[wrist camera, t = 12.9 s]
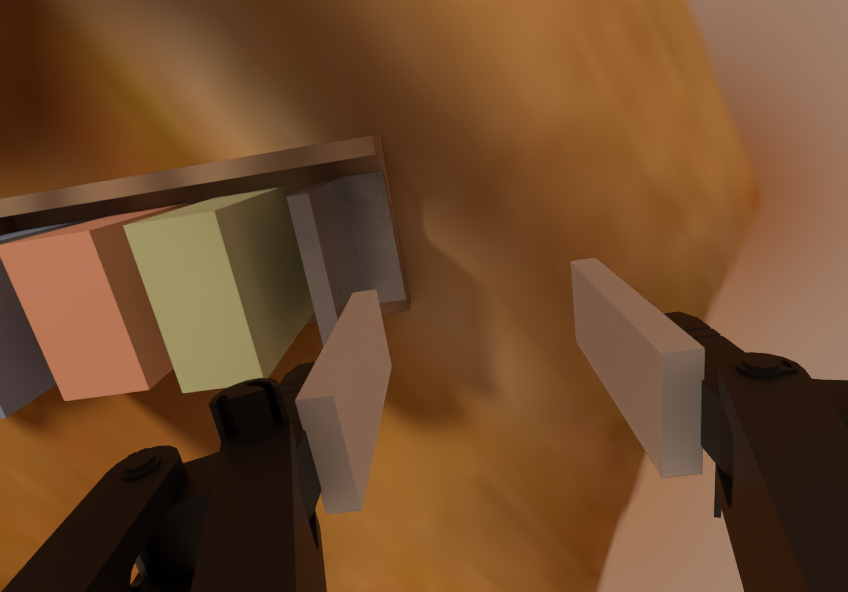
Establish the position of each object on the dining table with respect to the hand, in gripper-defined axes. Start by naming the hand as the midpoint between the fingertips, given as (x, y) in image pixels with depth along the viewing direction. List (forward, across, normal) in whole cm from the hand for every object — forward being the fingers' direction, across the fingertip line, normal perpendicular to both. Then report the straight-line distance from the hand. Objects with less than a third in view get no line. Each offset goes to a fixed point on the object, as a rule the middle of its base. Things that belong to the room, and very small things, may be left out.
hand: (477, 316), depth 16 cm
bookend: (+15, -6, 0) cm, 16 cm away
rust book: (+15, -18, 0) cm, 24 cm away
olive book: (+15, -12, 0) cm, 20 cm away
